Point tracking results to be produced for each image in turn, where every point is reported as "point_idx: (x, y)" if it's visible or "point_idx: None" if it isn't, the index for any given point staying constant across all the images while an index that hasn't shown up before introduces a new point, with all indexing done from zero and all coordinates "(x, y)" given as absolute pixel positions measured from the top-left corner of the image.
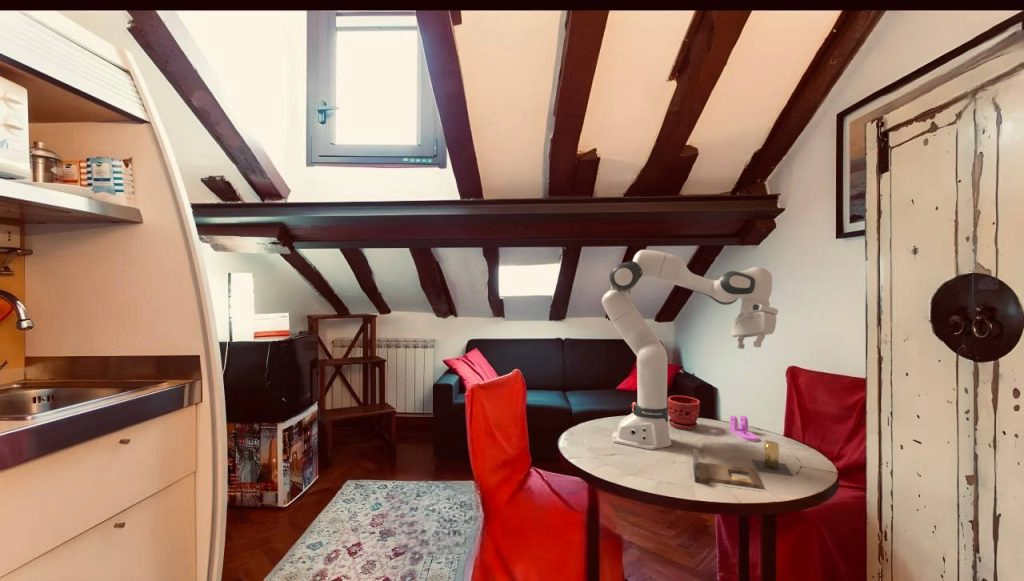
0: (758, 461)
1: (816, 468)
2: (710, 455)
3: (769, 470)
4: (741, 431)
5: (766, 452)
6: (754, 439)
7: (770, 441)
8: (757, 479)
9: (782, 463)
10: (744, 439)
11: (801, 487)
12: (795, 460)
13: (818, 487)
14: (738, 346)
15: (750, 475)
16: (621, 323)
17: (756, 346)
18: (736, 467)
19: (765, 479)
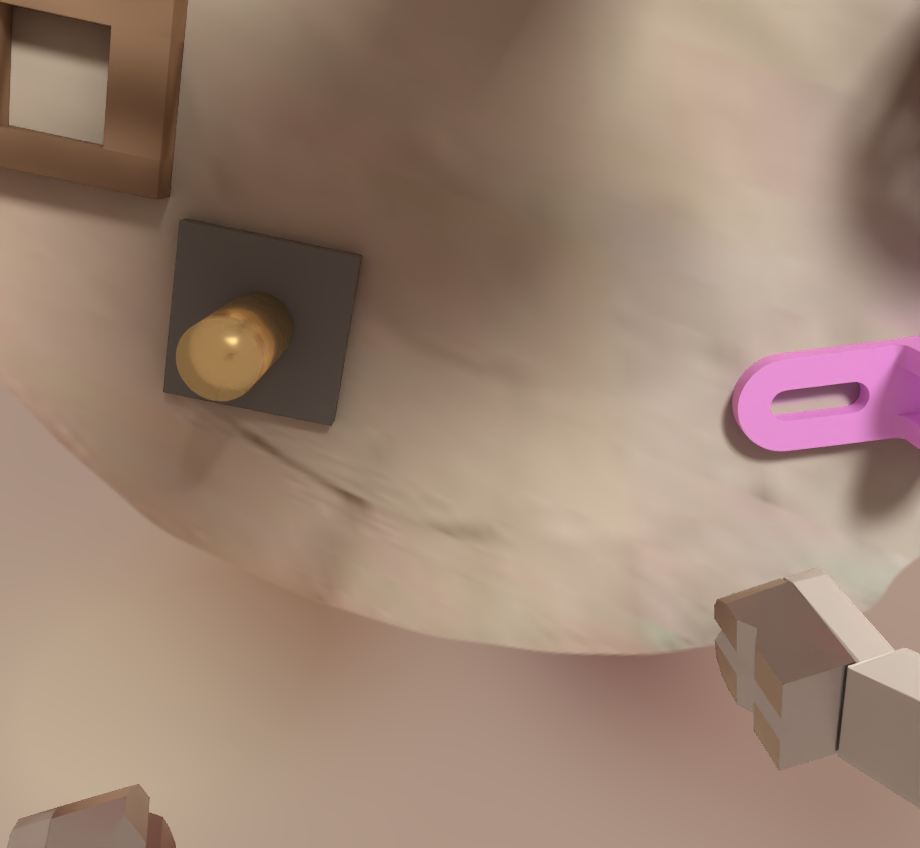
0: (336, 287)
1: (345, 563)
2: (437, 19)
3: (208, 296)
4: (883, 385)
5: (215, 311)
6: (736, 415)
7: (251, 368)
8: (3, 159)
9: (332, 411)
10: (763, 360)
11: (76, 381)
12: (440, 512)
13: (101, 461)
14: (783, 595)
15: (48, 138)
16: None
17: (50, 813)
18: (150, 95)
19: (127, 239)
